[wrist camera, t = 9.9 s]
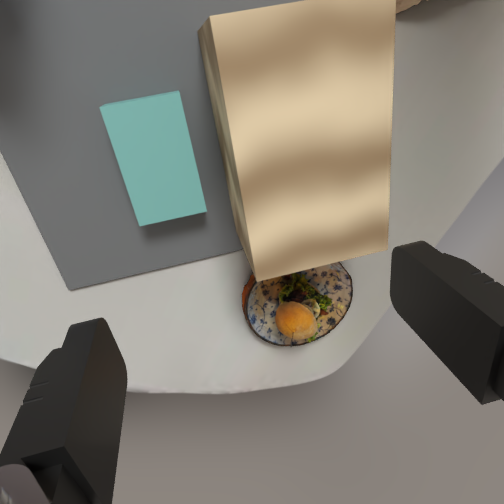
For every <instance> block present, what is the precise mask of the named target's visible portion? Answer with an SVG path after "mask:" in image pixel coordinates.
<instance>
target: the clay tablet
mask: <svg viewBox="0 0 504 504" xmlns="http://www.w3.org/2000/svg"><path fill="white" fill-rule="evenodd" d="M420 1H421V0H396V13H399V12H401V11H404V10H406V9H408V8H410V7H412V6H413V5H418V4H419V2H420ZM426 1H427V0H426Z"/></svg>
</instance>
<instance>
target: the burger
mask: <svg viewBox="0 0 504 504" xmlns="http://www.w3.org/2000/svg"><path fill="white" fill-rule="evenodd" d="M352 296H353V287H352V279H351V276H350V275H349V274H348V272H347V271H346V270H345V269H344V267H343V266H342V265H341V263H340V262H335V263H331V264H327V265H323V266H319V267H315V268H311V269H307V270H303V271H299V272H295V273H291V274H287V275H283V276H279V277H275V278H271V279H266V280H262V281H258V282H257V281H256V278H255V276H254V273H253V274H252V275H251V276H250V280H249V281H248V283H247V285H245V286H244V290H243V293H242V301H243V304H242V307H243V312H244V314H245V318H246V320H247V321H248V323H249V326H250V328H251V329H252V330H253V331H254V332H255V334H256V335H257V336H259V337H260V338H262V339H263V340H264V341H266V342H269V343H271V344H274V345H278V346H299V345H304V344H307V343H311V342H312V341H315V340H318V339H319V338H321V337H323V336H325V335H326V334H328V333H330V331H331V330H332V329H334V328H335V327H336V326H337V325H338V324H339V322H340V321H341V320H342V319H343V318H344V316H345V314H346V312H347V311H348V309H349V307H350V304H351V301H352Z"/></svg>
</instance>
